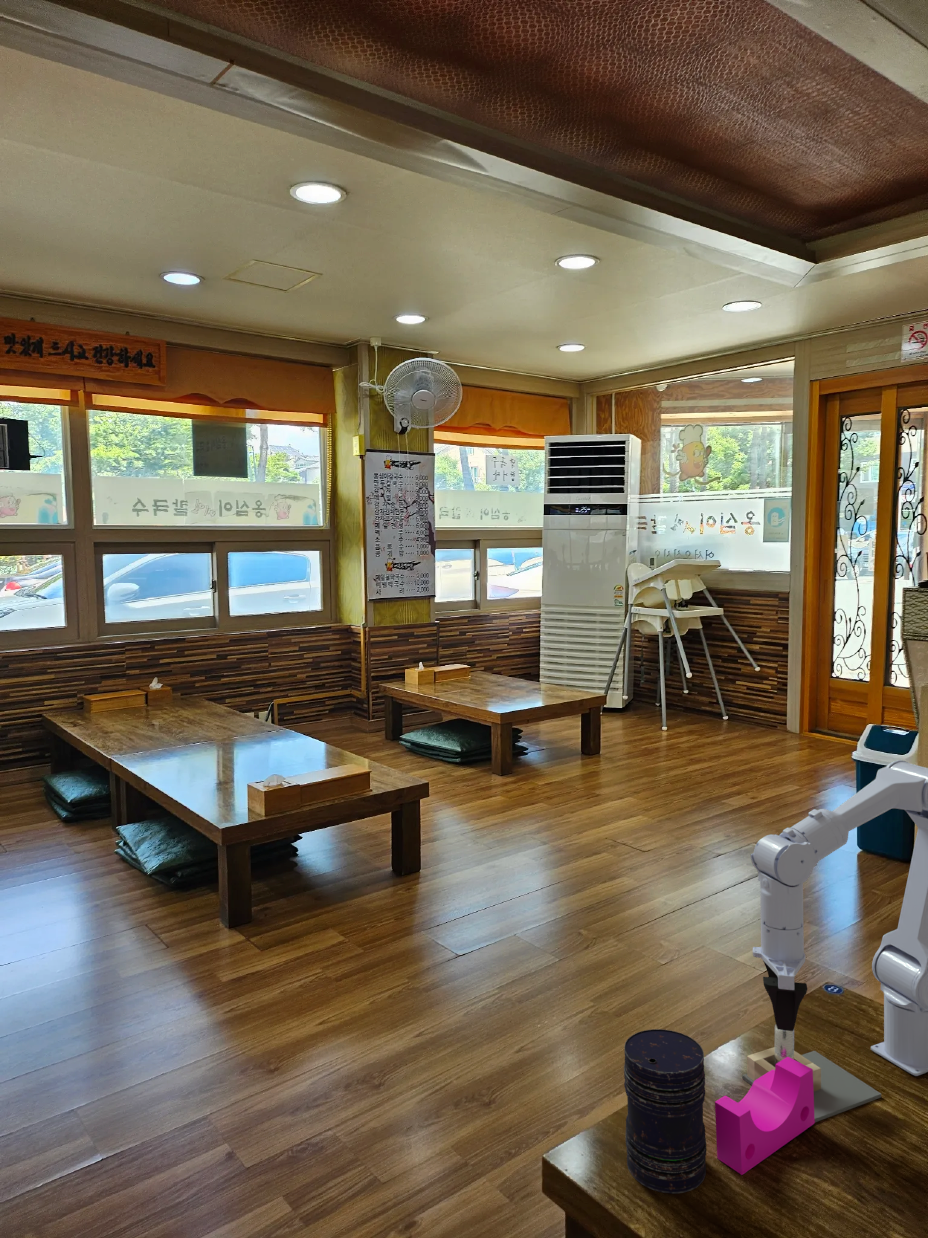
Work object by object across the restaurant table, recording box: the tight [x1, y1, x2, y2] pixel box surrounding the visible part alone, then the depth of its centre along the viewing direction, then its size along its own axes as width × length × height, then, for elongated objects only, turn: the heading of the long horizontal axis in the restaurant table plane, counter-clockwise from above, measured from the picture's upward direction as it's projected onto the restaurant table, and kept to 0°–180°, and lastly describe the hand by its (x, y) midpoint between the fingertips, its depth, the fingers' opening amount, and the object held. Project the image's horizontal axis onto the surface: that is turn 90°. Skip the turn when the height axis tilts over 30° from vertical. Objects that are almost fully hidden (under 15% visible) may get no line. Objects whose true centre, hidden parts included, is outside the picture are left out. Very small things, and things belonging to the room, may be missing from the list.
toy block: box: [714, 1057, 816, 1176], centre depth 112 cm, size 15×6×8 cm, turn 124°
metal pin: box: [774, 1024, 795, 1065], centre depth 122 cm, size 3×3×8 cm
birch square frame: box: [746, 1046, 821, 1092], centre depth 123 cm, size 7×7×3 cm
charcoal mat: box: [741, 1050, 882, 1123], centre depth 122 cm, size 14×12×1 cm
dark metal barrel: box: [623, 1028, 707, 1194], centre depth 107 cm, size 10×10×15 cm
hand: (783, 1015), depth 122 cm, fingers open, 7 cm apart
